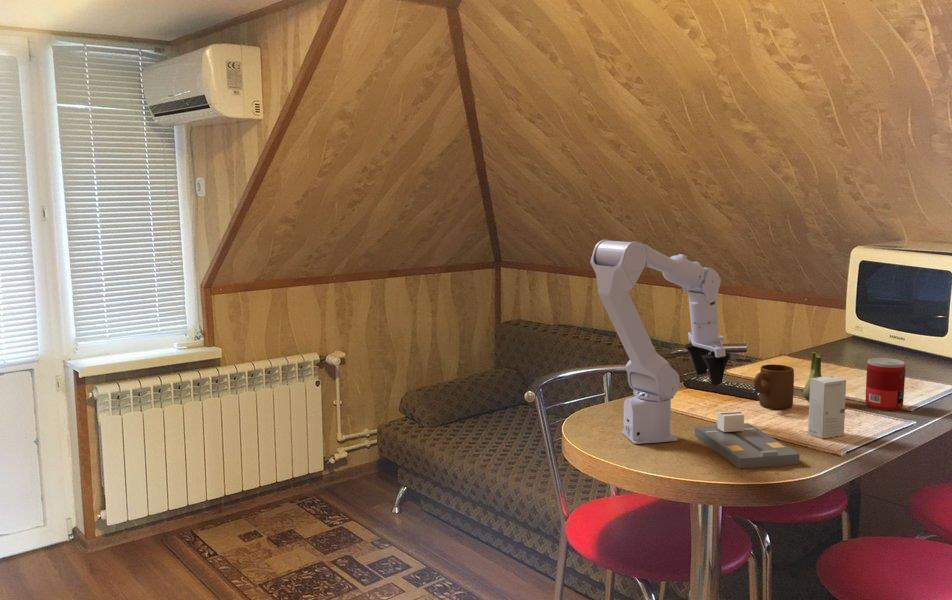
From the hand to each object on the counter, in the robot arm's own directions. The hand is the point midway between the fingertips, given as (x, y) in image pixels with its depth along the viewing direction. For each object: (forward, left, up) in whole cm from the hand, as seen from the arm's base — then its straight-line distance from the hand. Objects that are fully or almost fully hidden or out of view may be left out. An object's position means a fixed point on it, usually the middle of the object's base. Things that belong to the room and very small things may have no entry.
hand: (709, 378), depth 176 cm
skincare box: (+20, -14, -10) cm, 26 cm away
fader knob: (-1, -13, -8) cm, 15 cm away
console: (-1, -19, -10) cm, 21 cm away
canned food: (+45, +2, -10) cm, 46 cm away
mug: (+19, +7, -10) cm, 23 cm away
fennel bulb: (+32, +10, -10) cm, 35 cm away
